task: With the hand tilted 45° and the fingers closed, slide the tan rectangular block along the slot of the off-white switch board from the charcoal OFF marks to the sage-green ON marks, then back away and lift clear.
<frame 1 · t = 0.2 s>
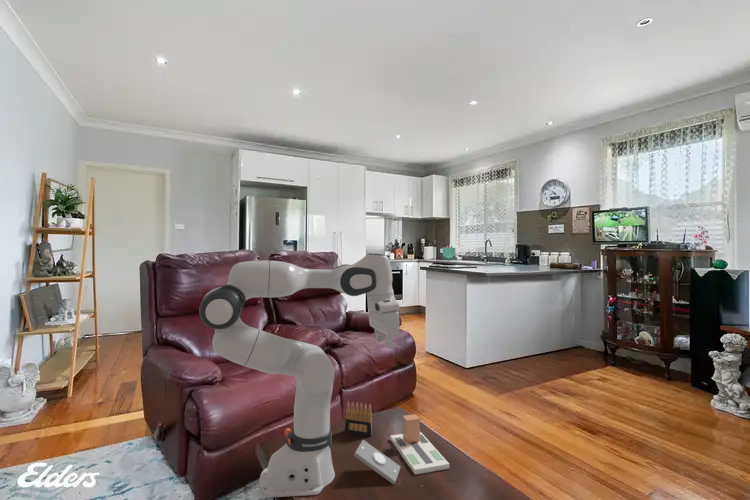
hand: (384, 344, 124), 39 cm above the table, tool pointing down, fingers open, 8 cm apart
tan rectangular block: (411, 428, 136), point 6 cm above the table, slide at 0.0 cm
light switch: (377, 474, 118), on the table
ammunition clip: (358, 433, 145), on the table
switch board: (417, 453, 131), on the table
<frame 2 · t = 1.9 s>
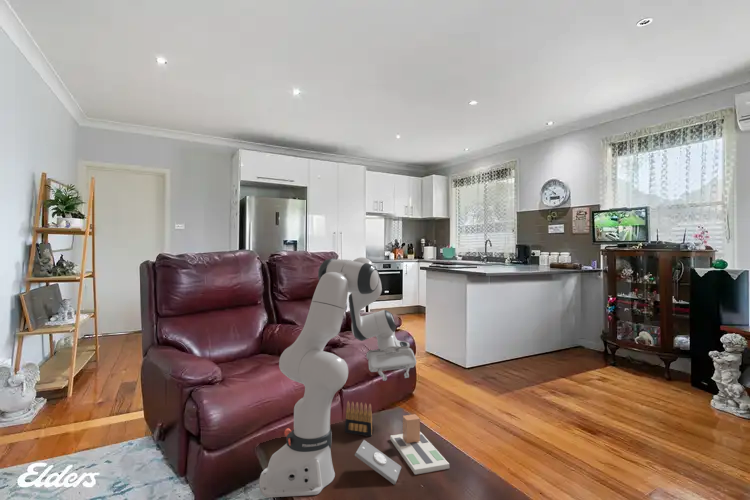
hand: (396, 378, 154), 18 cm above the table, tool tilted 45°, fingers open, 8 cm apart
nothing on the table moved.
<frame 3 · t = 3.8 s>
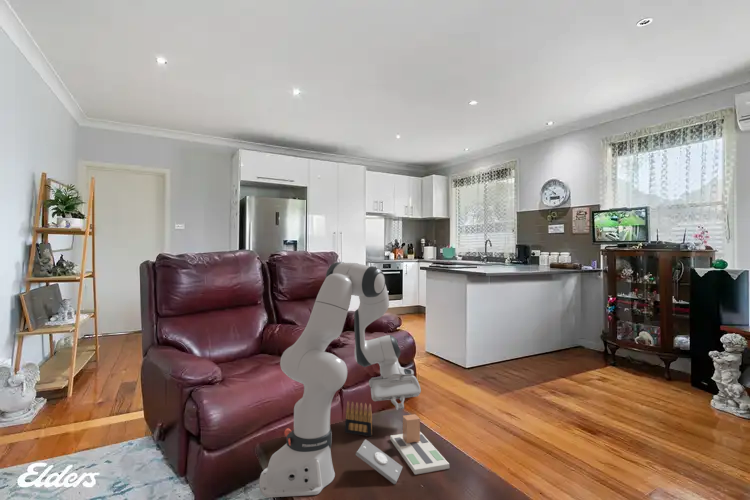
hand: (400, 408, 147), 9 cm above the table, tool tilted 45°, fingers closed
nothing on the table moved.
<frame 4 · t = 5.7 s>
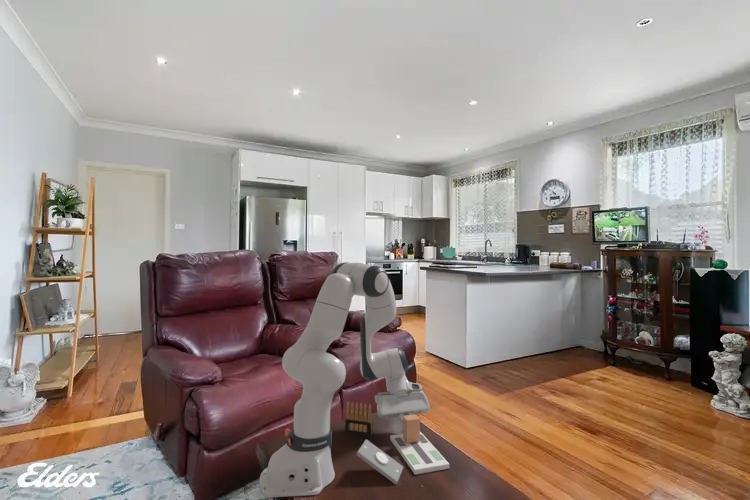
hand: (408, 426, 139), 5 cm above the table, tool tilted 45°, fingers closed, pressing on tan rectangular block
tan rectangular block: (411, 428, 136), point 6 cm above the table, slide at 0.1 cm, touching gripper
everything else where it was.
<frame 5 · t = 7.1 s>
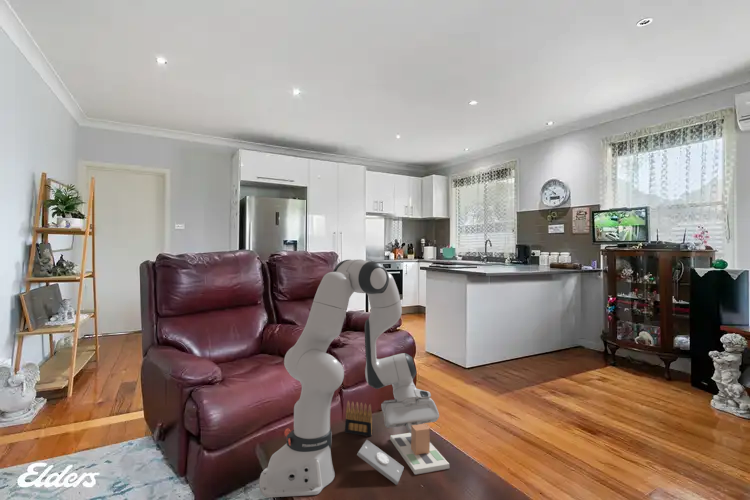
hand: (416, 436, 131), 5 cm above the table, tool tilted 45°, fingers closed, pressing on tan rectangular block
tan rectangular block: (420, 438, 129), point 6 cm above the table, slide at 8.1 cm, touching gripper
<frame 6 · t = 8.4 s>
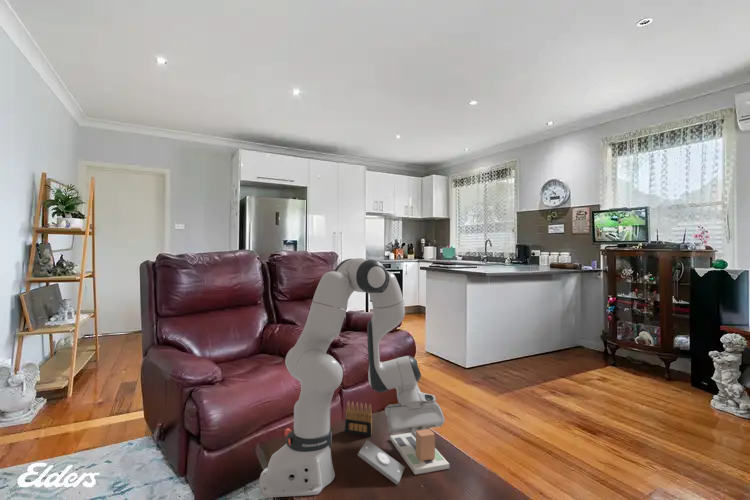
hand: (421, 442, 127), 5 cm above the table, tool tilted 45°, fingers closed, pressing on tan rectangular block
tan rectangular block: (425, 444, 125), point 6 cm above the table, slide at 12.1 cm, touching gripper
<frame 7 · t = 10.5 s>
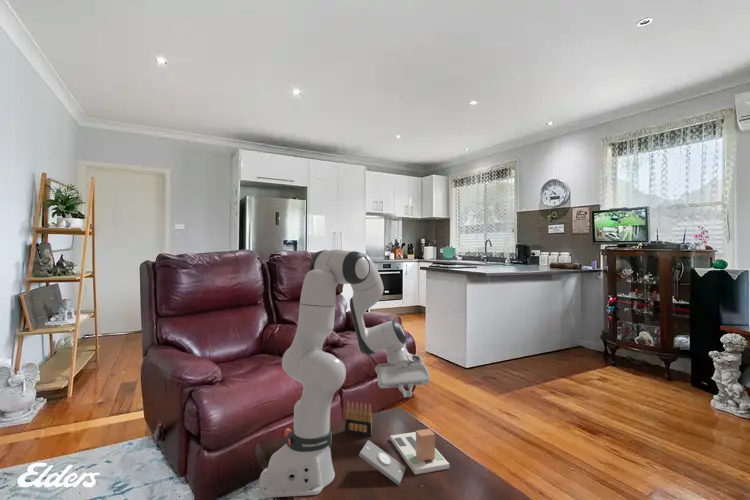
hand: (408, 396, 139), 16 cm above the table, tool tilted 45°, fingers closed
tan rectangular block: (425, 444, 125), point 6 cm above the table, slide at 12.0 cm
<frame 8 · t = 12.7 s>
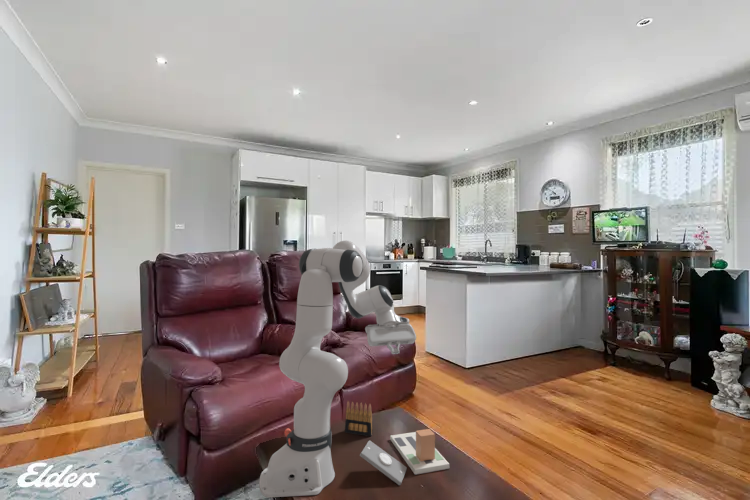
hand: (395, 353, 150), 29 cm above the table, tool tilted 45°, fingers closed
at the end: tan rectangular block slide at 12.0 cm; tan rectangular block 0.5 cm from the target spot, point 5.8 cm above the table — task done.
